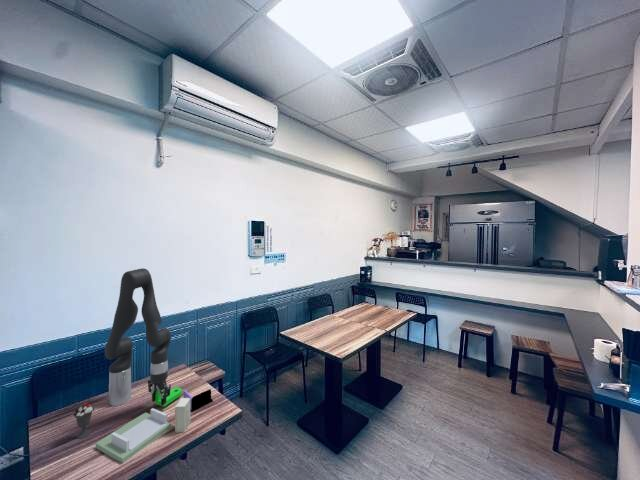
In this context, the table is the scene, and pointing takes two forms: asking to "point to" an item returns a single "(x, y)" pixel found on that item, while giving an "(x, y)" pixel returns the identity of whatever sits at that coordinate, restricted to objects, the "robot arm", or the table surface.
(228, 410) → the table surface
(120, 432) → the pale green fixture
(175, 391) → the mechanical part
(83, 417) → the sundae
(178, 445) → the table surface
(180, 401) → the skincare box
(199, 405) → the miniature room corner
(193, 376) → the table surface
